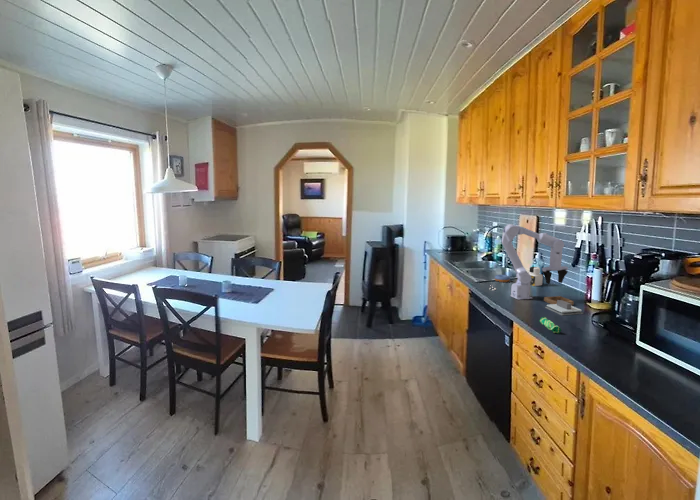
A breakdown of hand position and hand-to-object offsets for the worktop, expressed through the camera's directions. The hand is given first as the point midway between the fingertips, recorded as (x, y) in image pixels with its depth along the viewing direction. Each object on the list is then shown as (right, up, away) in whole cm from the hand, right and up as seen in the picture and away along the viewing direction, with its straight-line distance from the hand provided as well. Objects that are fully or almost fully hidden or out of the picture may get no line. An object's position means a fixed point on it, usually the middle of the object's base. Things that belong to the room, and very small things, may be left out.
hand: (554, 283), depth 197 cm
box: (-2, -11, -7) cm, 13 cm away
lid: (-6, -12, -19) cm, 23 cm away
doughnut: (-10, -3, +45) cm, 46 cm away
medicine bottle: (+6, -4, +33) cm, 34 cm away
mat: (-6, -13, -19) cm, 23 cm away
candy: (-27, -17, -41) cm, 52 cm away
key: (-24, -6, +28) cm, 37 cm away
